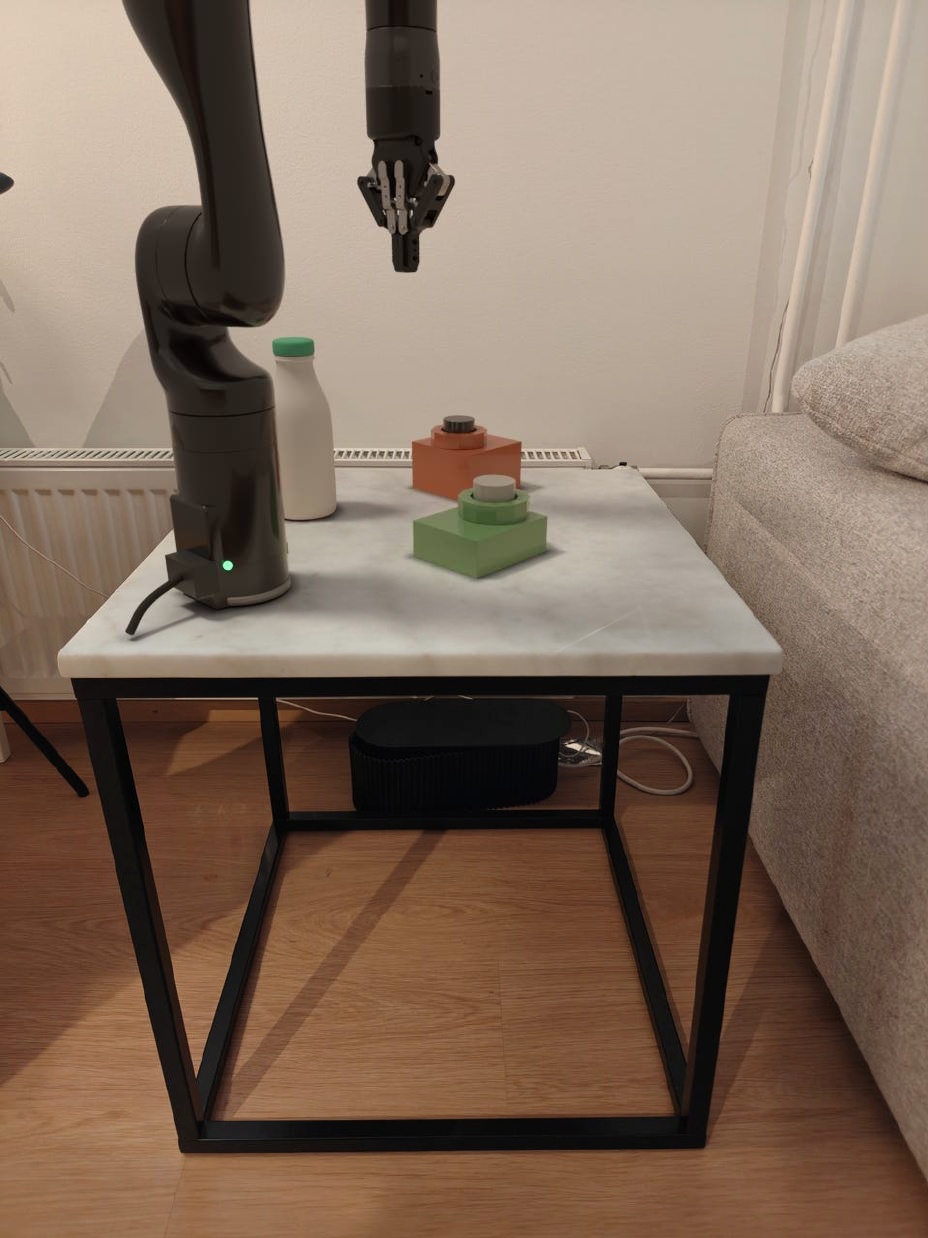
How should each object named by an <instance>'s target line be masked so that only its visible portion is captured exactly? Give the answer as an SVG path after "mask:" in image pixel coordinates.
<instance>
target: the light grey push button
mask: <svg viewBox="0 0 928 1238" xmlns="http://www.w3.org/2000/svg"><path fill="white" fill-rule="evenodd" d="M515 485H516V481H515V479H514V478H512V477H509V476H504V475H483V476H479V477H476V478H474V480H473V499H474V500H478V501H481V502H490V503H501V502H509V501H512V500H515Z"/></svg>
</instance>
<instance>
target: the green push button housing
mask: <svg viewBox="0 0 928 1238" xmlns="http://www.w3.org/2000/svg"><path fill="white" fill-rule="evenodd" d="M530 504H531V495H530V494H528V493H527V492H526V491H524V490H522V489H520V488H518V489H515V500H512V501H509V502H501V503H490V502H481V501H478V500H474V499H473V488H470V489H467V490H463V491H462V492H461V493H460V494H459V495H458V501H457V506H455V507H451V508H449V509H446V510H442V511H439V512H436V513H433V514H430V515H427V516H423V517H419V518H417V519H414V520H412V535H413V536H412V541H413V542H412V544H413V547H412V548H413V557H414V558H417V559H420V560H423V561H426V562H429V563H431V564H434V565H437V566H439V567H442V568H445V569H448V570H450V571H453V572H456V573H459V574H462V575H465V576H468V577H471V578H473V579H476V580H477V579H479V578H482V577H485V576H487V575H489V574H492V573H495V572H498V571H500V570H502V569H505V568H508V567H510V566H512V565H515V564H517V563H520V562H523V561H525V560H528V559H531V558H533V557H536V556H538V555H540V554H543V553H545V552H546V551H547V537H548V536H547V535H548V518H549V517H548V515H545V514H541V513H538V512H534V511H532V510H530V508H531V507H530Z"/></svg>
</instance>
